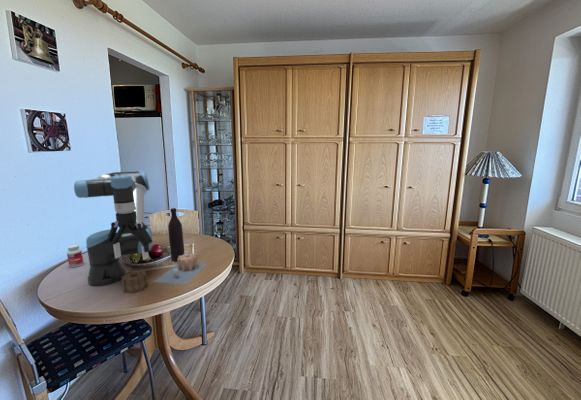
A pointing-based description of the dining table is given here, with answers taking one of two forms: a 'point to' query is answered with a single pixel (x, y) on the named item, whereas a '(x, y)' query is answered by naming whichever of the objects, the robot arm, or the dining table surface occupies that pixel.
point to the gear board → (179, 275)
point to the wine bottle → (175, 236)
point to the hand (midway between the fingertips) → (131, 258)
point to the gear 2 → (187, 262)
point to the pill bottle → (75, 256)
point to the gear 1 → (134, 281)
